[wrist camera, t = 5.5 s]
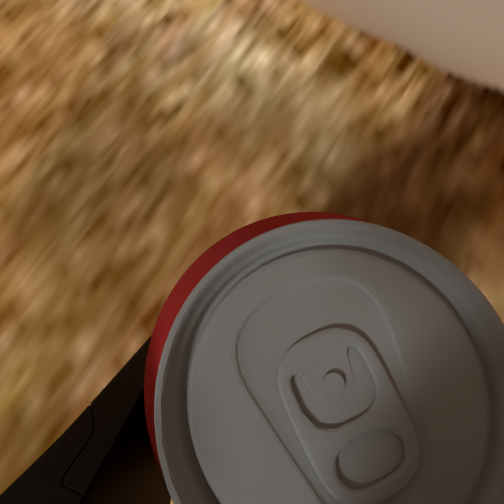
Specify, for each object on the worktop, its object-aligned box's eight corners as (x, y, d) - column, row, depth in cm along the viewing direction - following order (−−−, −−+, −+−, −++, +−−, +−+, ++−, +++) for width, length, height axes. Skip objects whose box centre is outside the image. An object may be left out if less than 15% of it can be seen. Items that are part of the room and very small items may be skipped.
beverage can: (304, 254, 17) (422, 114, 5) (365, 374, 16) (696, 532, 4) (189, 308, 16) (38, 283, 5) (243, 437, 15) (221, 835, 3)
